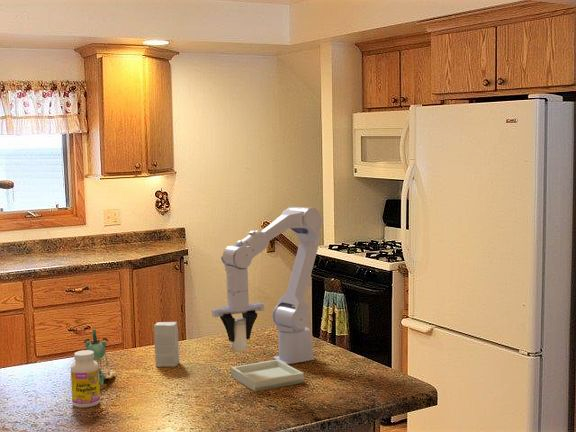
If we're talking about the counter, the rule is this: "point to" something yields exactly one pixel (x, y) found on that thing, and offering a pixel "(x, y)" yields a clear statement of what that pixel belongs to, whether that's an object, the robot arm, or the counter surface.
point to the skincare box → (166, 344)
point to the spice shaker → (239, 335)
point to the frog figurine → (99, 357)
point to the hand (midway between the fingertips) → (239, 339)
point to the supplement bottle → (85, 380)
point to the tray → (267, 375)
